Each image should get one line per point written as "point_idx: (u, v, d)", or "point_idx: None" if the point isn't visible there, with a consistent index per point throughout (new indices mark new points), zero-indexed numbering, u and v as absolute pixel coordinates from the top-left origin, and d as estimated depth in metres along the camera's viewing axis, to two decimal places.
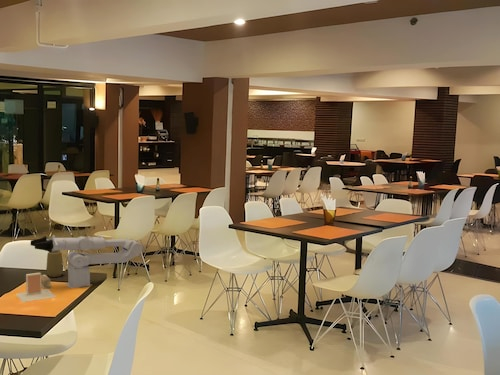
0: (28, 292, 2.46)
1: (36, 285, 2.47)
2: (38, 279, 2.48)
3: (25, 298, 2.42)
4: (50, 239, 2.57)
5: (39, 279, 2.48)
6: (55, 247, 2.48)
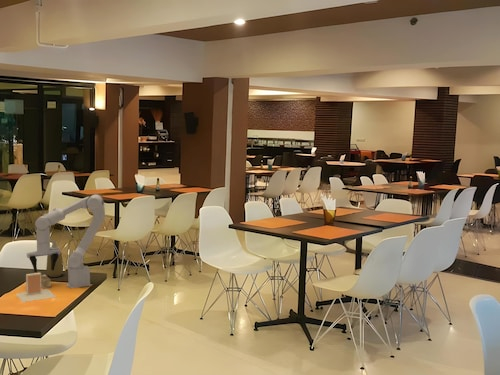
0: (28, 292, 2.46)
1: (36, 285, 2.47)
2: (38, 279, 2.48)
3: (25, 298, 2.42)
4: None
5: (39, 279, 2.48)
6: (27, 255, 2.54)
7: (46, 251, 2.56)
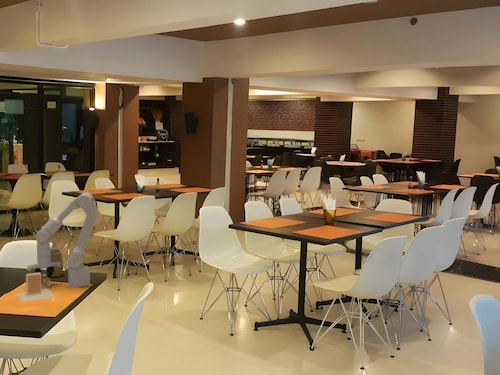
0: (28, 292, 2.46)
1: (36, 285, 2.47)
2: (38, 279, 2.48)
3: (25, 298, 2.42)
4: None
5: (39, 279, 2.48)
6: (27, 268, 2.55)
7: (46, 264, 2.57)
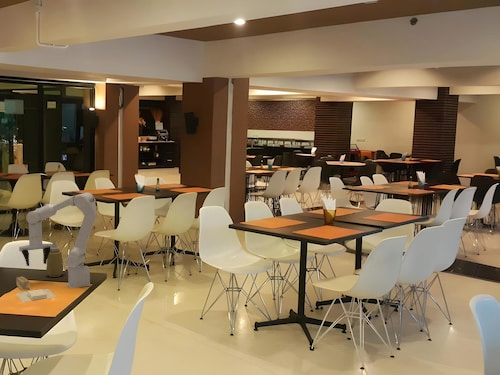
0: None
1: None
2: None
3: (25, 298, 2.42)
4: None
5: None
6: (19, 249, 2.58)
7: (38, 245, 2.60)
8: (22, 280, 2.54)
